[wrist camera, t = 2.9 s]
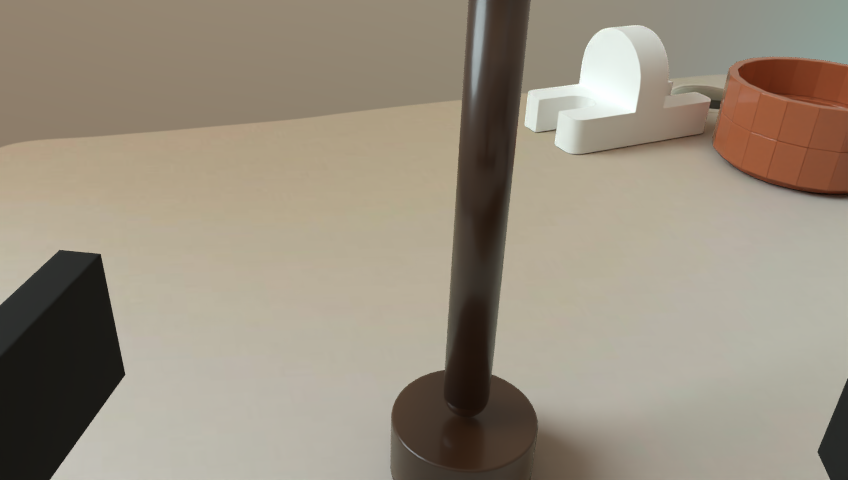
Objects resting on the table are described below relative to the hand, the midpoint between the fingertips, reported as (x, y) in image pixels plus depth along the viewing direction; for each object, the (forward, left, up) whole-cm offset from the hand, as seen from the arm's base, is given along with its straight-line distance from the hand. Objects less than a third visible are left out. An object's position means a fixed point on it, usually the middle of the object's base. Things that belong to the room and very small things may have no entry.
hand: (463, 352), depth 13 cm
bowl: (-14, -45, -13) cm, 49 cm away
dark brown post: (+2, -9, -13) cm, 16 cm away
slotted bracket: (-1, -47, -13) cm, 49 cm away
